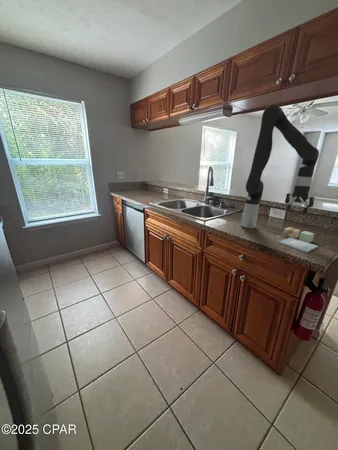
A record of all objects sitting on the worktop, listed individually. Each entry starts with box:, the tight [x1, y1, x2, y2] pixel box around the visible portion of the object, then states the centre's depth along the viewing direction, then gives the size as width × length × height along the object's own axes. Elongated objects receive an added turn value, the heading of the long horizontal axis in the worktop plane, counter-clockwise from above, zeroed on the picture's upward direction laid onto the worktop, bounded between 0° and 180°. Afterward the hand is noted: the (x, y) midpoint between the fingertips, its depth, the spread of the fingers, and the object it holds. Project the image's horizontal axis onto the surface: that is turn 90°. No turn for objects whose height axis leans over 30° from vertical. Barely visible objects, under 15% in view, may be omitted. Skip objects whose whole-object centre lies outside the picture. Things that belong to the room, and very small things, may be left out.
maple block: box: [282, 226, 301, 239], centre depth 115 cm, size 6×6×5 cm
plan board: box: [279, 237, 319, 253], centre depth 104 cm, size 14×12×1 cm
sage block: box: [298, 230, 315, 244], centre depth 109 cm, size 5×5×5 cm
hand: (296, 212), depth 111 cm, fingers open, 8 cm apart
